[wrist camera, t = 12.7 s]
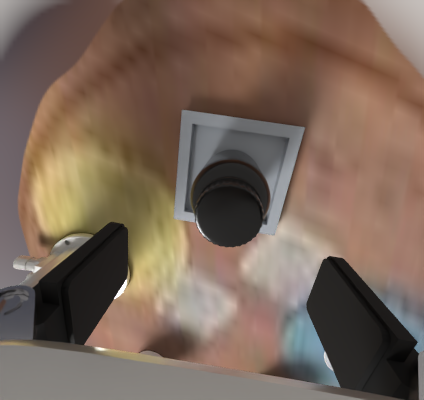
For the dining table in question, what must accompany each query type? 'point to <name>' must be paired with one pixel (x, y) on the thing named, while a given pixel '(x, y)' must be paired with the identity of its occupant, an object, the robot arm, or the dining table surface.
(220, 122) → the tray
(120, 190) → the dining table surface
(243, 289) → the dining table surface
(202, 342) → the dining table surface
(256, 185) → the supplement bottle
